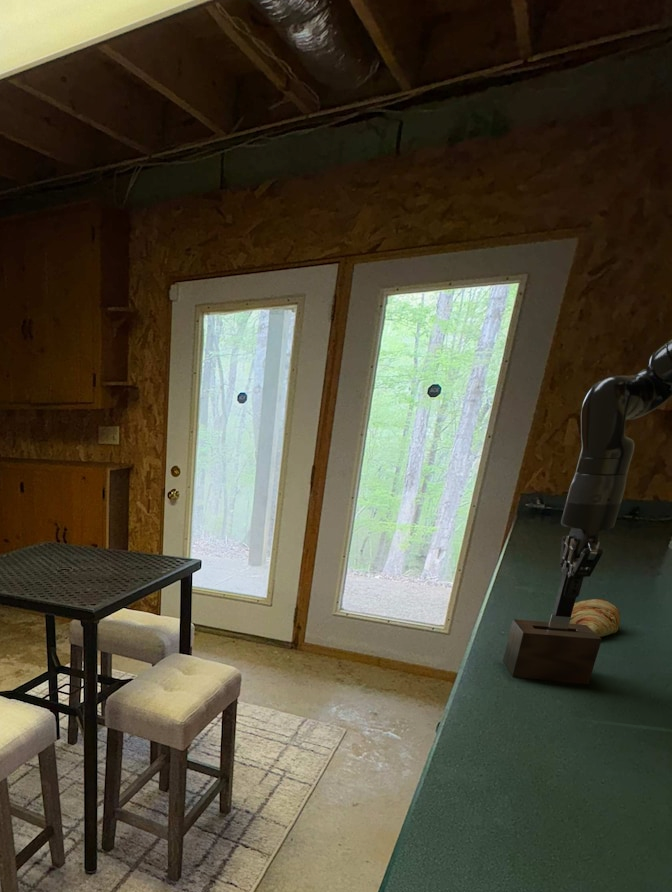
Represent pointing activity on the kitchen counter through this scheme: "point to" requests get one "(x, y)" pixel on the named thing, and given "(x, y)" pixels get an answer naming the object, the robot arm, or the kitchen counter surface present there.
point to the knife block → (551, 652)
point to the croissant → (596, 616)
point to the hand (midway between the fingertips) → (567, 594)
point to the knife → (562, 607)
